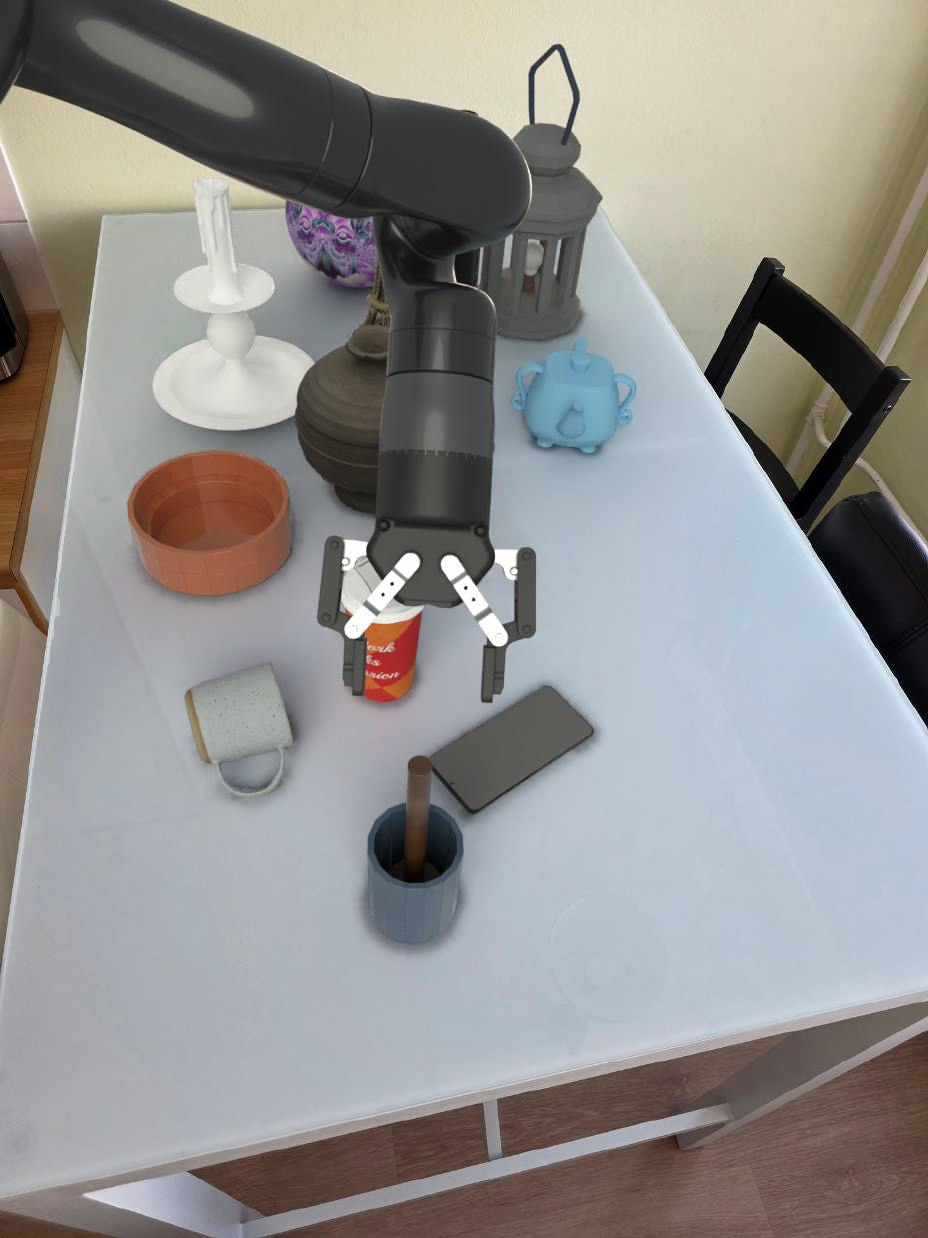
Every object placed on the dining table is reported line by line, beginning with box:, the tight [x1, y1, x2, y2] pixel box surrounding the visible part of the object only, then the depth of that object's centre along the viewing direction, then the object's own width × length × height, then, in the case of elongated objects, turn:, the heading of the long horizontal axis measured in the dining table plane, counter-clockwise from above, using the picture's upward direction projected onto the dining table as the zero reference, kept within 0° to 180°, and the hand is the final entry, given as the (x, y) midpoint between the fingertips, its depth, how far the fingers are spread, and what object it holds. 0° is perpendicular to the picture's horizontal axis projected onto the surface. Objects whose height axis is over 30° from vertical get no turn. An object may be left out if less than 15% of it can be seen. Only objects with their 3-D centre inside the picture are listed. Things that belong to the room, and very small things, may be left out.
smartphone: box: [428, 685, 595, 815], centre depth 84 cm, size 7×1×15 cm
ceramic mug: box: [184, 661, 294, 799], centre depth 79 cm, size 11×8×8 cm
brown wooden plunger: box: [387, 754, 441, 883], centre depth 66 cm, size 5×5×20 cm
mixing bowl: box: [126, 449, 294, 597], centre depth 97 cm, size 16×16×6 cm
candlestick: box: [152, 173, 316, 431], centre depth 107 cm, size 21×25×28 cm
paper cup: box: [341, 556, 425, 703], centre depth 83 cm, size 8×8×14 cm
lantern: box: [477, 43, 604, 341], centre depth 123 cm, size 17×17×35 cm
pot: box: [294, 325, 389, 515], centre depth 100 cm, size 18×18×20 cm
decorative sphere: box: [284, 200, 377, 289], centre depth 131 cm, size 20×20×20 cm
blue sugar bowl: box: [510, 337, 638, 454], centre depth 112 cm, size 13×14×11 cm
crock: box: [366, 801, 465, 946], centre depth 70 cm, size 7×7×10 cm
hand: (422, 698), depth 61 cm, fingers open, 8 cm apart
